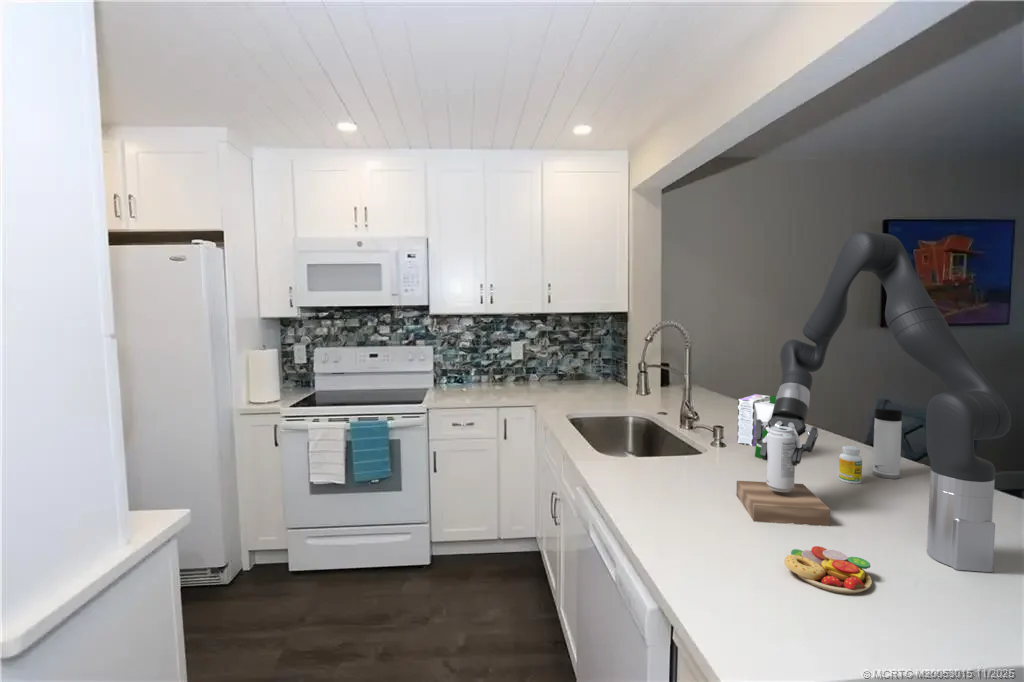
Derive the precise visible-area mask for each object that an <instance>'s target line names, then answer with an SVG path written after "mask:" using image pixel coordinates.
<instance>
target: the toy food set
mask: <svg viewBox="0 0 1024 682" xmlns="http://www.w3.org/2000/svg"><path fill="white" fill-rule="evenodd" d="M783 563H784V566H785V567H786V568H787V569H789V570H790V572H792V573H794V574H796V575H797V576H798V577H799V578H800V579H801V580H802V581H804V582H806V583H807V582H808V584H810V585H812V586H813V587H816V588H818V587H819V589H821V588H822V589H821V590H824V591H828V592H832V593H838V594H849V595H850V594H859V593H861V592H863V591H864V592H865V591H866V590H869V588H870V587H871V586H872V583H873V579H872V578H871V576H870V574H869V573H868V572H867V571H866V570H868V569H870V568H871V563H870V561H868V560H866V559H864V558H862V557H858V556H857V557H856V556H848V555H847V554H846V553H844V552H842V551H839V550H835V549H827V548H825V547H822V546H818V545H817V546H812V548H811V550H809V549H804V550H801V549H798V548H797V549H796V548H793V549H792V550H791V551H790V554H788V555H786V557H785V558H784V562H783Z"/></svg>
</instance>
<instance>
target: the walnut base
mask: <svg viewBox="0 0 1024 682" xmlns="http://www.w3.org/2000/svg"><path fill="white" fill-rule="evenodd" d="M735 493H736V495H735V496H736V498H738V500H739V502H740V503H741V504H742V506H743V508H744V509H745V511H746V512H747V514H748V515H749V517H750V518H751V519H752V522H755V521H757V523H771V522H773V523H775V522H776V523H775V524H787V523H794V524H793V525H803V524H809V525H808V526H819V525H821V526H822V527H830V521H831V508H829V507H828V506H827V505H826V504H825V503H824V502H823V501H822V500H821V499H820V498H819V497H818V496H816V495H815V494H814V493H813V492H812V491H811V490H810V489H809V488H808V487H807V486H806V485H804V483H795V482H794V488H792V490H791V491H790V492H778V491H774V490H772V489H770V488H769V485H768V484H767V483H766V481H754V480H753V481H752V480H736V492H735Z"/></svg>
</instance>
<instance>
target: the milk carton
mask: <svg viewBox="0 0 1024 682" xmlns="http://www.w3.org/2000/svg"><path fill="white" fill-rule="evenodd" d="M769 396H770V401H766V402H760V403H755V408H756V413H757V420H758V419H760V420H761V421H762V422H768V421H769V420H770V419H771V417H772V413H773V409H774V405H775V401H776V396H777V395H769ZM769 431H770V428H769V427H766V429H765V430H764V431H763V438H765V437H766V436H767V434H768V432H769ZM761 447H762V445H761V444H758V443H757V441H756V445H755V452H754V457H755V458H758V457H759V459H761V458H762V457H761V455H760V451H761ZM762 460H763V458H762Z"/></svg>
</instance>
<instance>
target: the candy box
mask: <svg viewBox="0 0 1024 682" xmlns="http://www.w3.org/2000/svg"><path fill="white" fill-rule="evenodd" d="M770 396H771V395H764V394H758V393H757V394H756V393H754V394H752V395H749V396H746V397H742V398H738V400H737V401H738V402H737V404H738V405H737V439H736V440H737V441H736V442H737V444H739V443H742V444H741V445H744V444H746V445H745V446H748V445H751V446H750V447H755V446H756V438H755V434H756V421H757V413H756V408H755V403H760V402H766V401H770ZM754 445H755V446H754Z"/></svg>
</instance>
